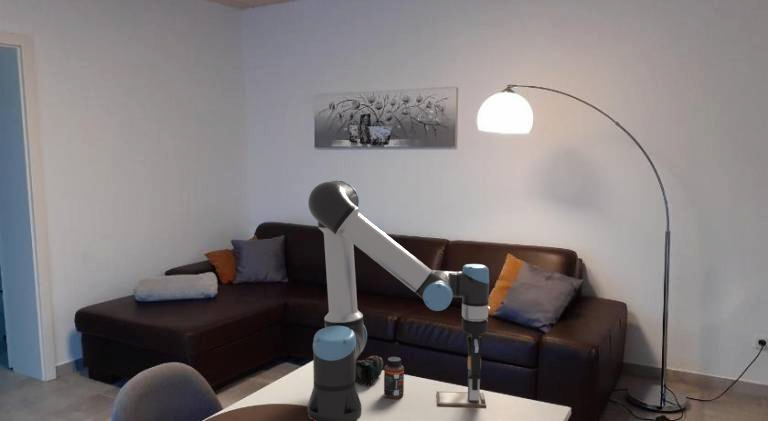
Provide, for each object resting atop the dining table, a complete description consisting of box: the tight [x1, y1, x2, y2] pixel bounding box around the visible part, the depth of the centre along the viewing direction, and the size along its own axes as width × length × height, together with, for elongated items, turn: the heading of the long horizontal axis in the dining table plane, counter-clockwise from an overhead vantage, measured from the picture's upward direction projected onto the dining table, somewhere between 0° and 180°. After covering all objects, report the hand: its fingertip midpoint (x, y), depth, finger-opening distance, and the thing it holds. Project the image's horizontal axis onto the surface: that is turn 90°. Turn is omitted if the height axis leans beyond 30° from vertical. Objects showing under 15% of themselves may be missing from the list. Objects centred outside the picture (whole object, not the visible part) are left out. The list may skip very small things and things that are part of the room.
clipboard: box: [436, 391, 487, 408], centre depth 171 cm, size 14×9×2 cm, turn 86°
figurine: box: [355, 355, 384, 387], centre depth 187 cm, size 9×8×15 cm
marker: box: [467, 356, 482, 404], centre depth 168 cm, size 4×4×13 cm
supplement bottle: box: [383, 356, 405, 399], centre depth 174 cm, size 6×6×11 cm
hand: (473, 395), depth 169 cm, fingers open, 5 cm apart
